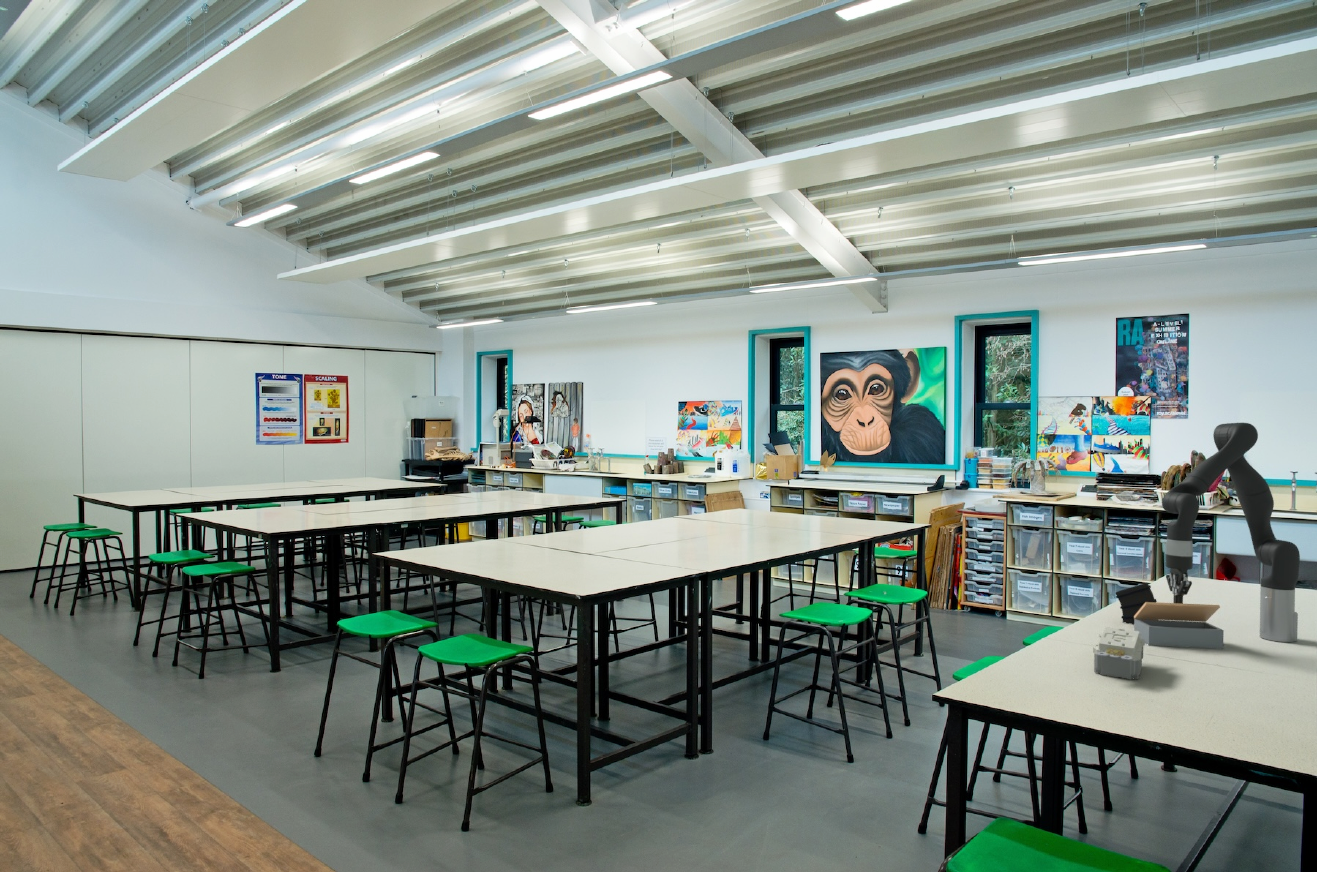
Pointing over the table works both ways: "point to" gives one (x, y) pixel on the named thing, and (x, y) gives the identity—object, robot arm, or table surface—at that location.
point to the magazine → (1134, 600)
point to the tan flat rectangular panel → (1176, 611)
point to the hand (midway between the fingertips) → (1178, 606)
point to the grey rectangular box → (1179, 633)
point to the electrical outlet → (1119, 653)
